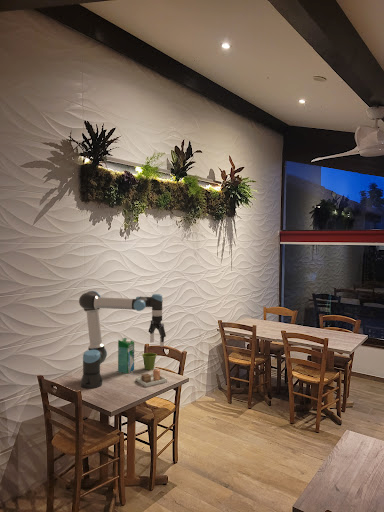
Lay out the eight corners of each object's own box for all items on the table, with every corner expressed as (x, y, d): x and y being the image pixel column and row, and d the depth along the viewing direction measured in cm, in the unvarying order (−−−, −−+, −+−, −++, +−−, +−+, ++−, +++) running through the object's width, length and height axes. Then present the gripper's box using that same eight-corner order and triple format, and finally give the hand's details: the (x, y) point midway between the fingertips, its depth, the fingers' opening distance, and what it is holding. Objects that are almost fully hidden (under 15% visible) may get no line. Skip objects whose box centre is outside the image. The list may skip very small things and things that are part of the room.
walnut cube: (150, 382, 293) (150, 375, 292) (144, 383, 290) (144, 376, 289) (147, 380, 297) (147, 373, 296) (141, 381, 294) (141, 374, 293)
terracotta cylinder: (161, 379, 298) (161, 370, 298) (155, 381, 295) (155, 371, 295) (157, 377, 302) (157, 368, 302) (151, 379, 299) (152, 369, 299)
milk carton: (127, 373, 313) (127, 341, 312) (117, 371, 316) (118, 339, 315) (134, 370, 321) (134, 338, 320) (124, 368, 325) (124, 337, 324)
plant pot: (159, 367, 328) (159, 353, 328) (151, 371, 317) (152, 357, 317) (146, 365, 333) (146, 351, 333) (139, 369, 322) (139, 355, 322)
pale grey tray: (146, 387, 284) (146, 383, 284) (135, 380, 297) (135, 377, 297) (166, 382, 295) (166, 378, 295) (155, 376, 307) (155, 373, 307)
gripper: (170, 317, 289) (170, 347, 290) (152, 312, 309) (152, 340, 310) (161, 318, 284) (161, 348, 285) (144, 313, 304) (143, 341, 305)
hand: (156, 344), depth 297 cm, fingers open, 13 cm apart
